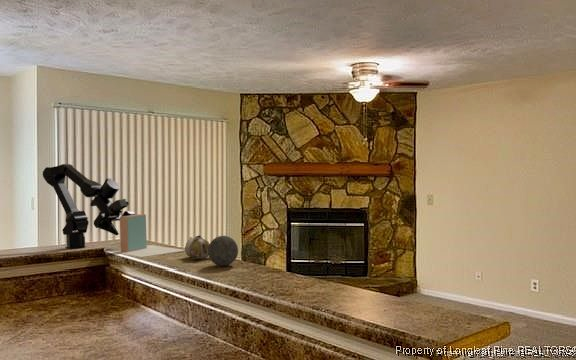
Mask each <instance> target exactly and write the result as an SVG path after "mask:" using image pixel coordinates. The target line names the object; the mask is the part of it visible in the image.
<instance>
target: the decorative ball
mask: <svg viewBox="0 0 576 360" xmlns="http://www.w3.org/2000/svg"><path fill="white" fill-rule="evenodd" d="M209 244H210V245H209V247H208V258H209V259H210V261H211V262H212V263H213V264H214V265H217V266H220V267H227V266H229V265H231V264H233V263H234V262H235V260H236V259H237V257H238V256H239V255H238V254H239V247H238V244H237V243H236V241H235V240H234V239H233V238H232V237H230V236H227V235H219V236H217V237H215V238H214V239H212V240H211V241H210V242H209Z"/></svg>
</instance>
